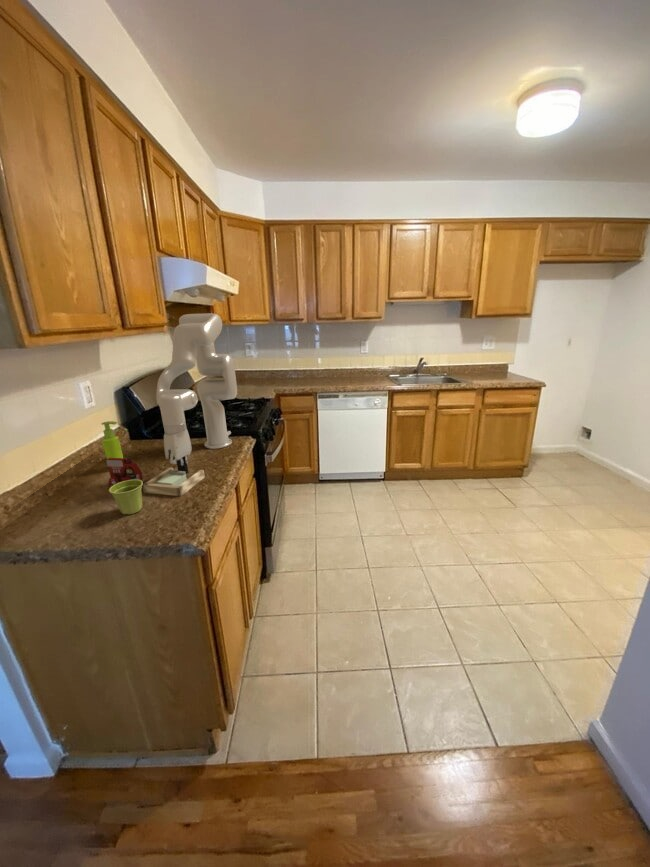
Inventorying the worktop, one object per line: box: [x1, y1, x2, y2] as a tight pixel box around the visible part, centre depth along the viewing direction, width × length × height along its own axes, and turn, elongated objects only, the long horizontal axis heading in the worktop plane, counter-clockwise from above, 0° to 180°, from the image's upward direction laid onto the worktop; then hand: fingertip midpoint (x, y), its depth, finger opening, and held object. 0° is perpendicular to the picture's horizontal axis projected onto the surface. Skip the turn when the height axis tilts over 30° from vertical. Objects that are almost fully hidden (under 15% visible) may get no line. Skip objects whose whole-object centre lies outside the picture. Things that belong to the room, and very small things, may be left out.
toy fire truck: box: [105, 457, 144, 487], centre depth 131 cm, size 7×12×10 cm, turn 82°
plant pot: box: [108, 480, 144, 515], centre depth 113 cm, size 9×9×9 cm
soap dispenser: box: [101, 420, 124, 460], centre depth 144 cm, size 6×7×20 cm
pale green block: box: [156, 469, 188, 486], centre depth 129 cm, size 8×6×4 cm
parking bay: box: [142, 467, 206, 497], centre depth 130 cm, size 15×15×3 cm
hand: (183, 473), depth 134 cm, fingers closed
